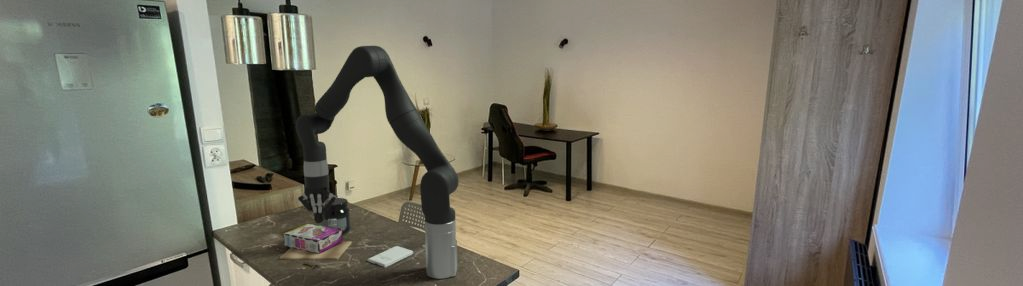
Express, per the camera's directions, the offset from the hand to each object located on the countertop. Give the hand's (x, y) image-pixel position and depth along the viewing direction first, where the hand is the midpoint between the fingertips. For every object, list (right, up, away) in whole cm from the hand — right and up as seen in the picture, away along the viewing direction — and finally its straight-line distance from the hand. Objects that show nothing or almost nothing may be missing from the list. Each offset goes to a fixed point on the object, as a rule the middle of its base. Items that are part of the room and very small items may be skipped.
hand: (319, 222), depth 161 cm
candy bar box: (+3, -7, +2) cm, 8 cm away
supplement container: (-2, -7, +20) cm, 21 cm away
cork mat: (-2, -10, +2) cm, 10 cm away
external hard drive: (+25, -12, -3) cm, 28 cm away
